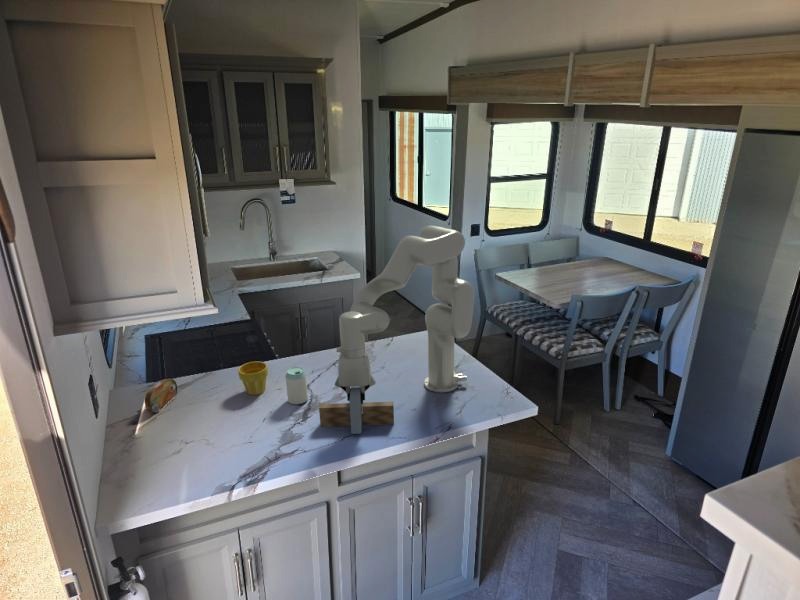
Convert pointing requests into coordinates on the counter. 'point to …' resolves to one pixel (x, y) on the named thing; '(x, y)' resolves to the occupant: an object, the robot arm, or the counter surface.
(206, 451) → the counter surface
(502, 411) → the counter surface
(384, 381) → the counter surface
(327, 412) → the walnut slotted board
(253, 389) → the plant pot
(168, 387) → the tin
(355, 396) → the plain grey board
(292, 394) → the can
